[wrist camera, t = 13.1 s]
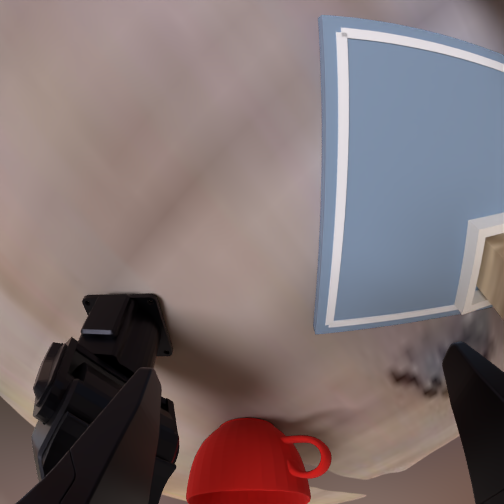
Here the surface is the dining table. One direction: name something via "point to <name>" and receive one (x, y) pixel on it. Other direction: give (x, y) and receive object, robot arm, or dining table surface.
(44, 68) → the dining table surface
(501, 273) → the maple pillar
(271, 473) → the ceramic cup
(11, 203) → the dining table surface
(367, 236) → the board
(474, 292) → the collar
